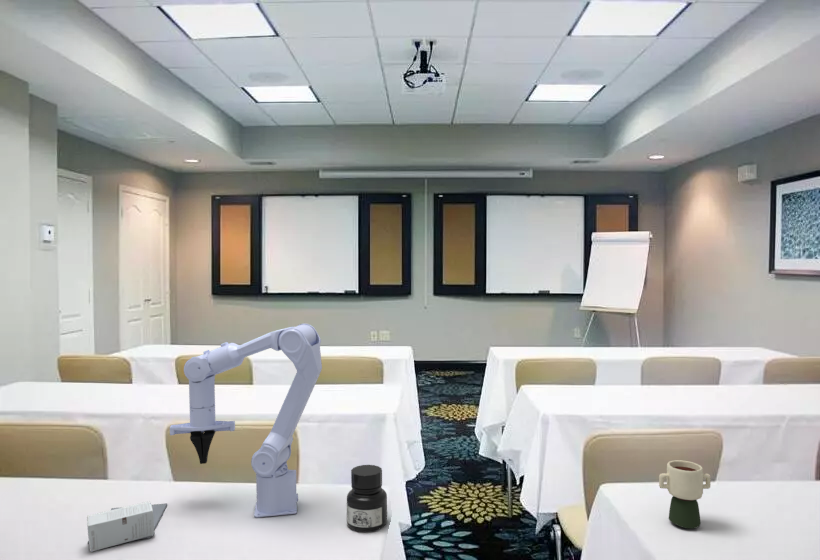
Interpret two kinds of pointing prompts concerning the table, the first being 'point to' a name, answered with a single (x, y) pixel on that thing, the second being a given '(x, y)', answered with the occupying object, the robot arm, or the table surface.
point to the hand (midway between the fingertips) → (203, 462)
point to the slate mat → (154, 514)
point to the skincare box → (120, 525)
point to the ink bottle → (366, 499)
